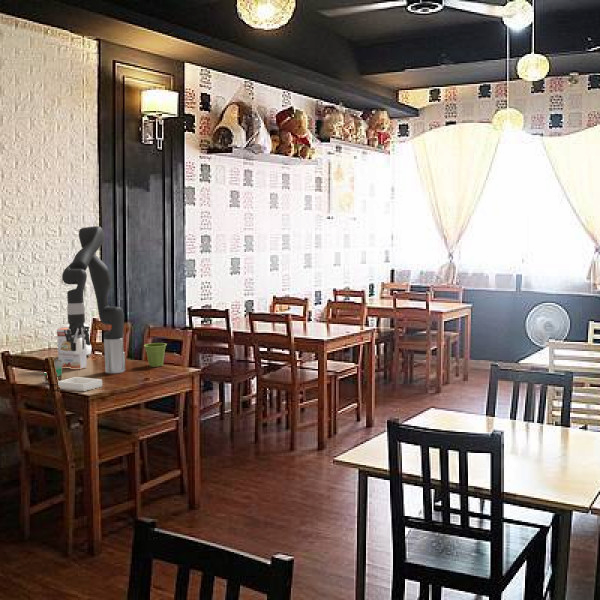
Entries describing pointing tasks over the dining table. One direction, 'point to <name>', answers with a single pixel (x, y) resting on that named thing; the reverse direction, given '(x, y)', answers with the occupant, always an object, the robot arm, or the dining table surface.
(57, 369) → the food container
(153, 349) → the plant pot
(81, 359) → the cracker box
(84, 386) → the tray
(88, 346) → the milk container
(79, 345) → the shaker
